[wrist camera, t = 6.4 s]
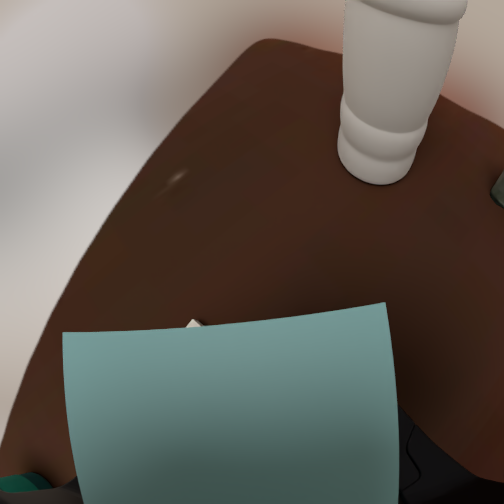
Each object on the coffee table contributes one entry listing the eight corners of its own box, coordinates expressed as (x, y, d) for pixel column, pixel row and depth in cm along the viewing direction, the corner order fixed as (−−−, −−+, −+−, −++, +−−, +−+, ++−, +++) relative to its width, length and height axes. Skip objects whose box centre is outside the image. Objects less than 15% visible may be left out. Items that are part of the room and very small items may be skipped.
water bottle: (354, 117, 28) (357, -132, 5) (418, 147, 26) (481, -100, 2) (324, 166, 27) (303, -141, 3) (395, 201, 24) (485, -107, 1)
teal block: (336, 430, 14) (388, 589, 2) (244, 438, 15) (107, 570, 3) (328, 341, 16) (385, 302, 4) (236, 352, 17) (62, 332, 4)
